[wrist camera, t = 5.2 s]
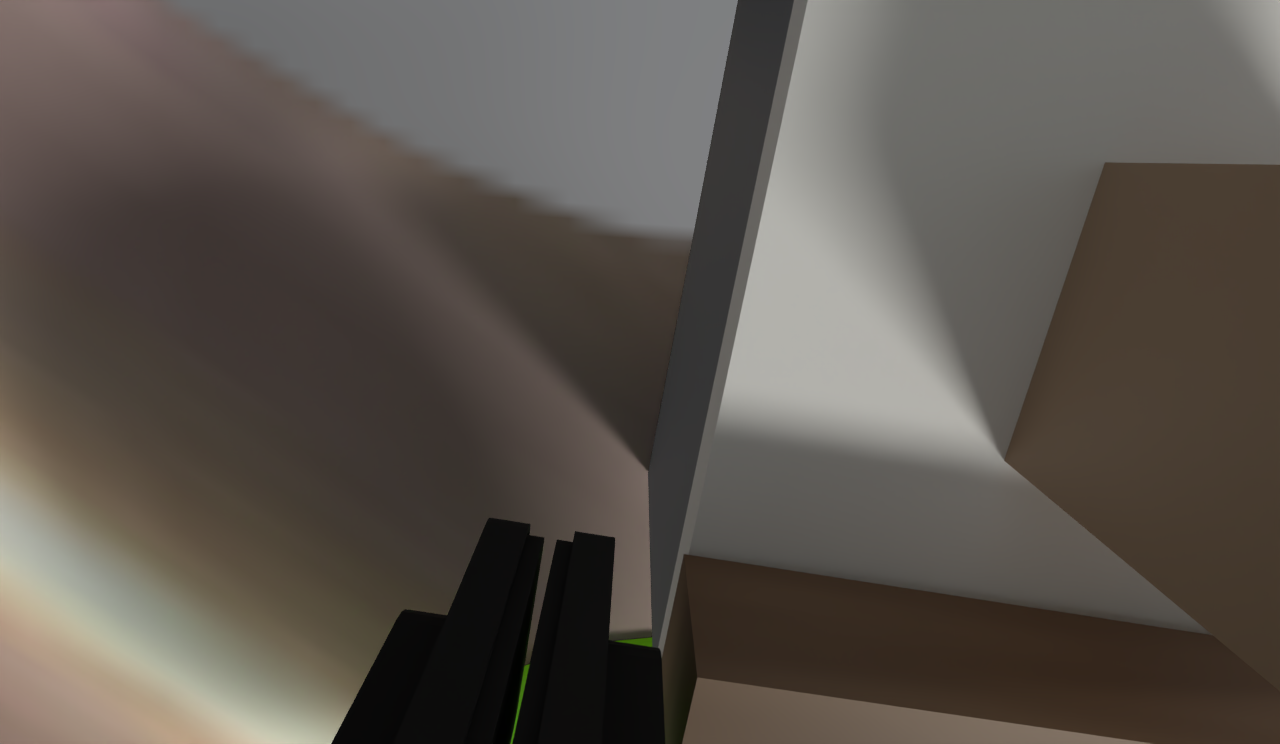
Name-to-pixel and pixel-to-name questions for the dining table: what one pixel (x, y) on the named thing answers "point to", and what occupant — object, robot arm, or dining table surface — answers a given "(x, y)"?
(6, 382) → the dining table surface
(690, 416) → the toolbox
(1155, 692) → the tan bar
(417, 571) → the dining table surface
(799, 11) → the lid
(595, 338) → the dining table surface
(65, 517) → the dining table surface
